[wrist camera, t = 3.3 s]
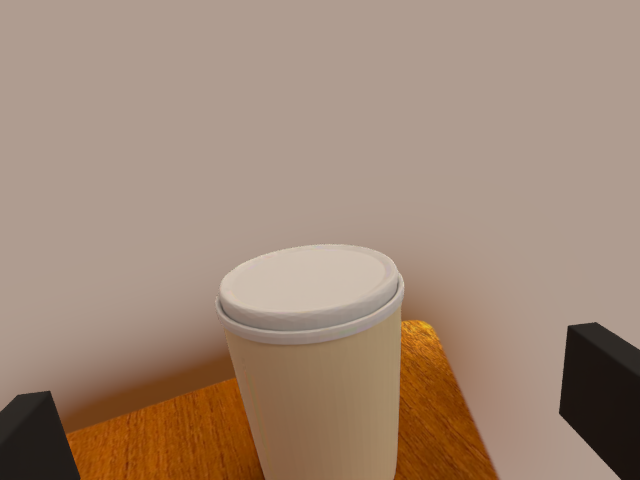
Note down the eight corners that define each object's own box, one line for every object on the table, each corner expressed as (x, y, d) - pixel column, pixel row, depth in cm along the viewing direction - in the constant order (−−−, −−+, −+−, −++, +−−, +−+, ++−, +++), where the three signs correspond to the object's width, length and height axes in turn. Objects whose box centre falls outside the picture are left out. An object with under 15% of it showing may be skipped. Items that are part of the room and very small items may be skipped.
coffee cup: (367, 389, 28) (355, 233, 25) (446, 498, 20) (445, 283, 16) (240, 430, 26) (207, 262, 22) (268, 577, 17) (221, 340, 14)
